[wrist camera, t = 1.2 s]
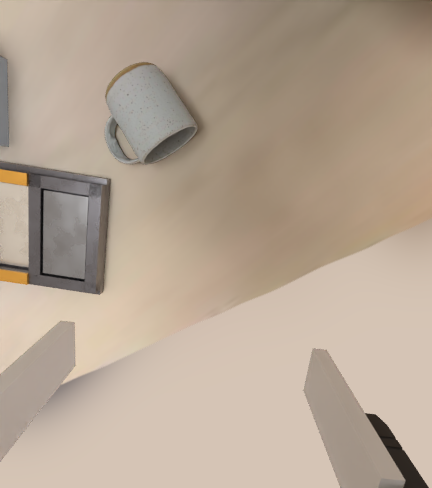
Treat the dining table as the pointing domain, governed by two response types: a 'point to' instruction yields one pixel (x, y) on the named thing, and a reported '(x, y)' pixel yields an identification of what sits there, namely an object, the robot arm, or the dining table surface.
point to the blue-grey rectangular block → (4, 103)
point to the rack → (53, 228)
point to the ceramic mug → (146, 114)
